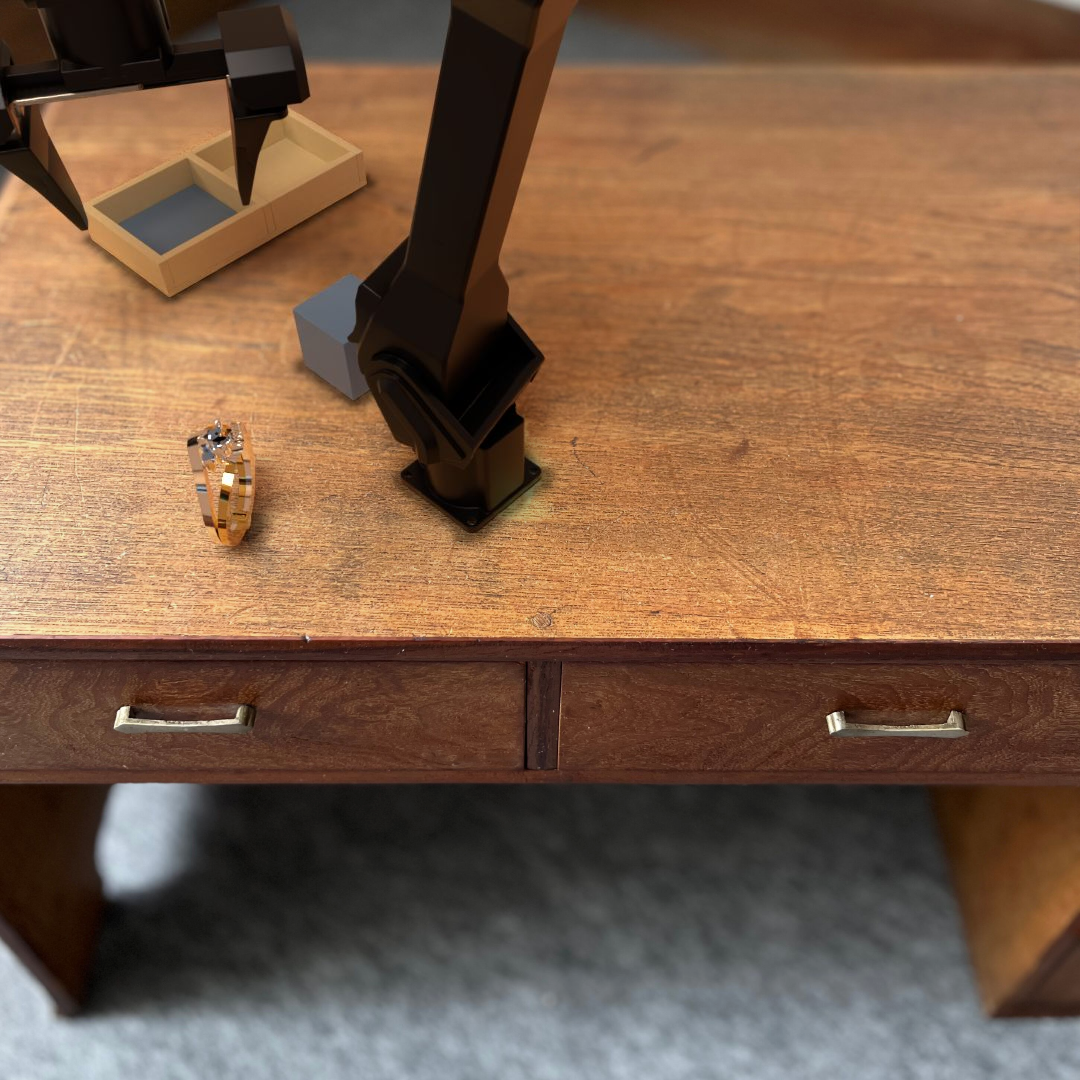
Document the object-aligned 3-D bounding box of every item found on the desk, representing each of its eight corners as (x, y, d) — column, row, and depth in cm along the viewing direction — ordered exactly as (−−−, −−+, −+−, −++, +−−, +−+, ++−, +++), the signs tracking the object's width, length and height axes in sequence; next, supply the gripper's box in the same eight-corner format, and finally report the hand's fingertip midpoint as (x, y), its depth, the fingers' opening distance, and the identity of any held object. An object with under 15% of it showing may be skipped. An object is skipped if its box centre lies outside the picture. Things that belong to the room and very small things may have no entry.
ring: (254, 574, 62) (223, 485, 56) (200, 569, 62) (164, 479, 56) (283, 483, 67) (258, 391, 60) (233, 479, 67) (202, 386, 60)
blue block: (408, 363, 73) (401, 306, 69) (353, 401, 71) (343, 344, 67) (359, 330, 75) (350, 272, 71) (304, 365, 73) (291, 308, 69)
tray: (288, 136, 90) (281, 103, 87) (367, 184, 86) (362, 150, 83) (91, 239, 81) (78, 205, 79) (169, 298, 77) (158, 264, 75)
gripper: (257, -154, 57) (306, 118, 69) (-119, -117, 54) (3, 161, 66) (283, -64, 50) (332, 219, 62) (-144, -15, 47) (-3, 272, 59)
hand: (166, 213), depth 63 cm, fingers open, 9 cm apart
